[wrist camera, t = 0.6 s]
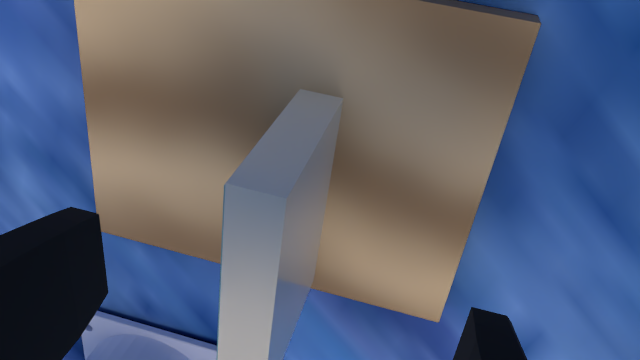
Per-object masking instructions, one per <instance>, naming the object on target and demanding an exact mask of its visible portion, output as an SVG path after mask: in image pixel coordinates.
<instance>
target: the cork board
mask: <svg viewBox="0 0 640 360" xmlns="http://www.w3.org/2000/svg"><path fill="white" fill-rule="evenodd" d="M74 5H75V14H76V24H77V33H78V42H79V52H80V61H81V71H82V80H83V90H84V99H85V109H86V118H87V127H88V137H89V146H90V156H91V165H92V175H93V184H94V194H95V203H96V212H97V214H99V218H100V226H101V232H105V233H109V234H112V235H116V236H120V237H123V238H127V239H131V240H135V241H138V242H142V243H146V244H149V245H153V246H157V247H161V248H164V249H168V250H172V251H175V252H179V253H183V254H186V255H190V256H194V257H198V258H201V259H205V260H209V261H212V262H216V263H220V264H221V243H222V219H223V196H224V185H225V183H226V182H227V181H228V179H229V178H230V177H231V176H232V174H233V173H234V172H235V171H236V169H237V168H238V167H239V165H240V164H241V163H242V162H243V160H244V159H245V158H246V157H247V155H248V154H249V153H250V152H251V150H252V149H253V148H254V147H255V145H256V144H257V143H258V141H259V140H260V139H261V138H262V136H263V135H264V134H265V133H266V131H267V130H268V129H269V128H270V126H271V125H272V124H273V123H274V121H275V120H276V119H277V117H278V116H279V115H280V114H281V112H282V111H283V110H284V109H285V107H286V106H287V105H288V104H289V102H290V101H291V100H292V99H293V97H294V96H295V95H296V93H297V92H298V91H299V90H300V89H303V90H307V91H312V92H317V93H321V94H326V95H330V96H335V97H340V98H343V104H342V110H341V117H340V123H339V129H338V135H337V141H336V147H335V153H334V159H333V165H332V171H331V178H330V184H329V190H328V196H327V202H326V208H325V214H324V220H323V226H322V233H321V239H320V245H319V251H318V257H317V263H316V269H315V275H314V280H313V283H312V285H311V288H312V289H316V290H320V291H324V292H327V293H331V294H335V295H338V296H342V297H346V298H349V299H353V300H357V301H361V302H364V303H368V304H372V305H375V306H379V307H383V308H386V309H390V310H394V311H398V312H401V313H405V314H409V315H412V316H416V317H420V318H424V319H427V320H431V321H435V322H438V323H439V320H440V317H441V314H442V311H443V308H444V305H445V303H446V300H447V297H448V294H449V291H450V288H451V285H452V282H453V279H454V276H455V273H456V270H457V268H458V265H459V262H460V259H461V256H462V253H463V250H464V247H465V244H466V241H467V238H468V235H469V233H470V230H471V227H472V224H473V221H474V218H475V215H476V212H477V209H478V206H479V203H480V200H481V197H482V195H483V192H484V189H485V186H486V183H487V180H488V177H489V174H490V171H491V168H492V165H493V162H494V160H495V157H496V154H497V151H498V148H499V145H500V142H501V139H502V136H503V133H504V130H505V127H506V125H507V122H508V119H509V116H510V113H511V110H512V107H513V104H514V101H515V98H516V95H517V92H518V90H519V87H520V84H521V81H522V78H523V75H524V72H525V69H526V66H527V63H528V60H529V57H530V55H531V52H532V49H533V46H534V43H535V40H536V37H537V34H538V31H539V28H540V25H541V22H540V20H539V18H538V16H537V15H532V14H527V13H521V12H516V11H510V10H505V9H500V8H494V7H489V6H483V5H478V4H473V3H467V2H462V1H457V0H74Z"/></svg>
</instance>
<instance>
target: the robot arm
mask: <svg viewBox="0 0 640 360" xmlns="http://www.w3.org/2000/svg"><path fill="white" fill-rule="evenodd" d="M107 294H108V286H107V278H106V269H105V260H104V252H103V243H102V235H101V226H100V218H99V214H97V213H93V212H89V211H85V210H81V209H77V208H73V207H70V208H67V209H64V210H61V211H58V212H56V213H53V214H50V215H48V216H45V217H43V218H40V219H38V220H36V221H33V222H31V223H28V224H26V225H24V226H21V227H19V228H16V229H14V230H12V231H9V232H7V233H5V234H2V235H0V360H62V359H63V357H64V356H65V355H66V354H67V353H68V351H69V350H70V349H71V348H72V346H73V345H74V344H75V343H76V341H77V340H78V339H79V338H80V336H81V335H82V342H83V349H84V356H85V360H216V358H217V346H216V345H213V344H209V343H206V342H203V341H199V340H196V339H192V338H189V337H185V336H182V335H179V334H175V333H172V332H168V331H165V330H162V329H158V328H155V327H151V326H148V325H144V324H141V323H138V322H134V321H131V320H127V319H124V318H121V317H117V316H114V315H110V314H107V313H103V312H100V311H97V310H98V309H99V307H100V305H101V304H102V302H103V300H104V299H105V297H106V296H107ZM453 360H527V358H526V356H525V354H524V351H523V349H522V347H521V344H520V342H519V340H518V337H517V335H516V333H515V330H514V328H513V325H512V323H511V321H510V320H509V318H508V317H507V316H505V315H501V314H497V313H493V312H489V311H485V310H481V309H477V308H473V307H471V310H470V313H469V316H468V319H467V321H466V324H465V327H464V330H463V333H462V336H461V338H460V341H459V344H458V347H457V350H456V352H455V355H454V358H453Z"/></svg>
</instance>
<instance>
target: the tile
mask: <svg viewBox="0 0 640 360" xmlns="http://www.w3.org/2000/svg"><path fill="white" fill-rule="evenodd" d="M342 104H343V98H340V97H335V96H330V95H326V94H321V93H317V92H312V91H307V90H303V89H300V90H299V91H298V92H297V93H296V95H295V96H294V97H293V99H292V100H291V101H290V102H289V104H288V105H287V106H286V107H285V109H284V110H283V111H282V112H281V114H280V115H279V116H278V117H277V119H276V120H275V121H274V123H273V124H272V125H271V126H270V128H269V129H268V130H267V131H266V133H265V134H264V135H263V136H262V138H261V139H260V140H259V141H258V143H257V144H256V145H255V147H254V148H253V149H252V150H251V152H250V153H249V154H248V155H247V157H246V158H245V159H244V160H243V162H242V163H241V164H240V165H239V167H238V168H237V169H236V171H235V172H234V173H233V174H232V176H231V177H230V178H229V179H228V181H227V182H226V183H225V185H224V196H223V219H222V243H221V266H220V289H219V312H218V335H217V358H216V360H283V358H284V355H285V353H286V350H287V347H288V345H289V342H290V340H291V337H292V334H293V332H294V329H295V327H296V324H297V322H298V319H299V316H300V314H301V311H302V309H303V306H304V303H305V301H306V298H307V296H308V293H309V291H310V288H311V285H312V283H313V280H314V275H315V269H316V263H317V257H318V251H319V245H320V239H321V233H322V226H323V220H324V214H325V208H326V202H327V196H328V190H329V184H330V178H331V171H332V165H333V159H334V153H335V147H336V141H337V135H338V129H339V123H340V117H341V110H342Z"/></svg>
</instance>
